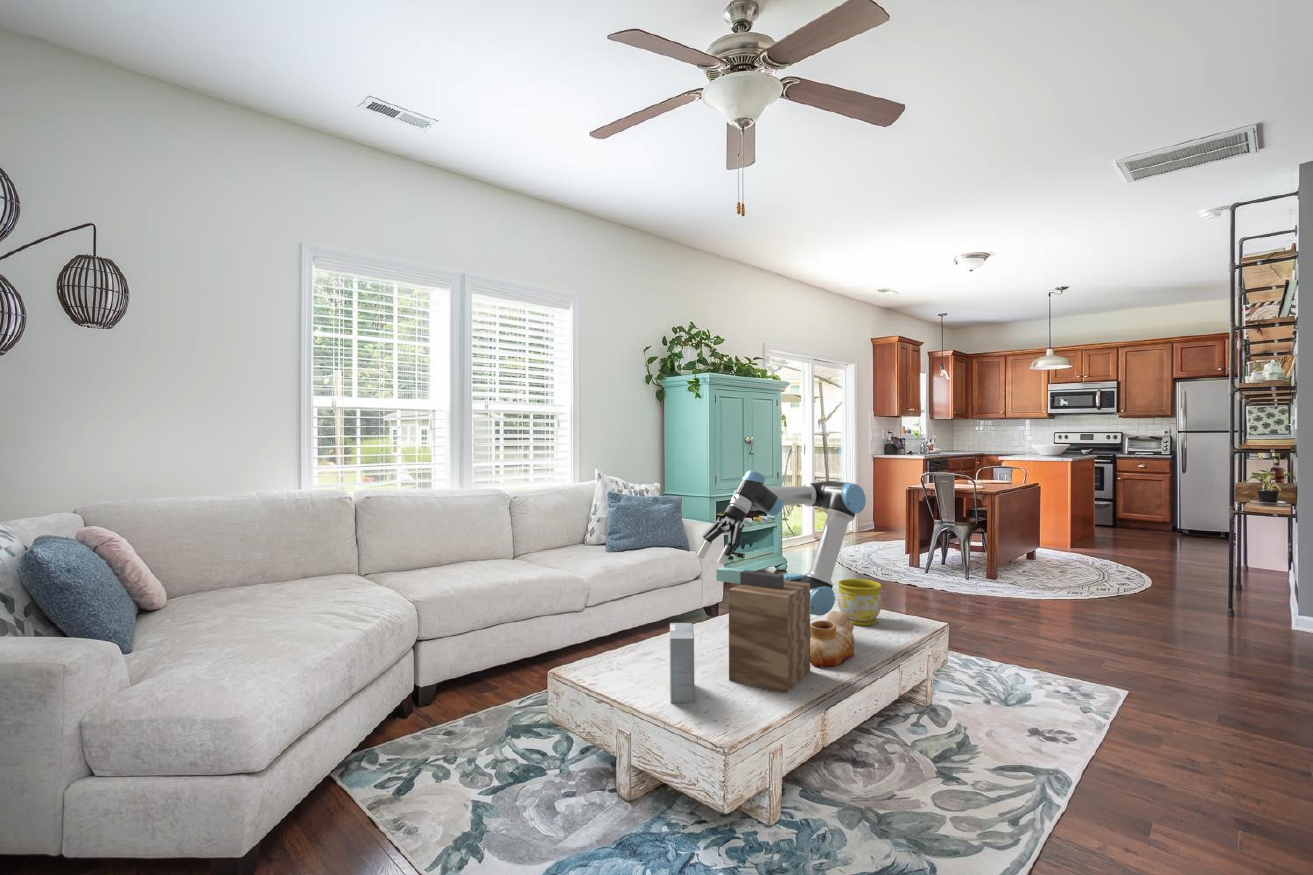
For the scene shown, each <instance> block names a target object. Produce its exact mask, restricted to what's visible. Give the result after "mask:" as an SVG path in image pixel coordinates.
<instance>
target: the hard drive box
mask: <svg viewBox="0 0 1313 875" xmlns="http://www.w3.org/2000/svg"><path fill="white" fill-rule="evenodd" d="M669 693H670V694H669V696H670V699H669V701H670V703H671V704H694V703H695V634H694V624H693V623H692V622H670V623H669Z"/></svg>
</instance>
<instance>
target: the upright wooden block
mask: <svg viewBox="0 0 1313 875" xmlns="http://www.w3.org/2000/svg"><path fill="white" fill-rule="evenodd" d="M810 624H811V614H810V583H803V582H795V581H787V580H784V587H782V588H780V589H774V588H767V587H759V586H752V585H744V584H736V586H734V587H731V588H729V589H728V681H730V682H734V683H739V684H744V685H747V684H748V686H752V687H757V688H761V689H767V690H770V689H772V690H771V691H775V690H776V691H775V692H779V691H781V692H780V693H784V692H786V693H785V694H788V693H789V692H790V691H791V690H793V688H794V687H795V686H796V685H797V684H799V683H800V682H801V681H802V680H803V679H804V678H805V677H806V676H807V675H808V674H809V673H810V672H811V663H810V638H811V631H810ZM805 675H806V676H805ZM803 677H804V678H803ZM790 689H791V690H790ZM789 690H790V691H789ZM788 691H789V692H788ZM787 692H788V693H787Z"/></svg>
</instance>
